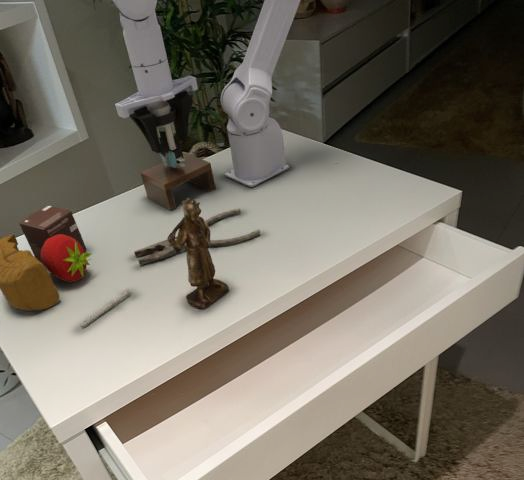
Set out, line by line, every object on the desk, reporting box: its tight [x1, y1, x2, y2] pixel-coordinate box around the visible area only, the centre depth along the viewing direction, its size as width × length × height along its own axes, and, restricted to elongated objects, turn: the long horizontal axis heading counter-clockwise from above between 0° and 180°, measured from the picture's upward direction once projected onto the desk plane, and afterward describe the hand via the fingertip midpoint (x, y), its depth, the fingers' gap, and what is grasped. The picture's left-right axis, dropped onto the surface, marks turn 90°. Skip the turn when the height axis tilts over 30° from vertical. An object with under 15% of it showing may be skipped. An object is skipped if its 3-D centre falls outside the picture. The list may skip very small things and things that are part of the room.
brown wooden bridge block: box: [140, 151, 216, 211], centre depth 102 cm, size 10×8×5 cm
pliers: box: [133, 208, 261, 266], centre depth 89 cm, size 10×1×20 cm
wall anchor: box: [79, 289, 132, 329], centre depth 79 cm, size 1×9×1 cm
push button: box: [147, 101, 185, 168], centre depth 96 cm, size 7×5×10 cm
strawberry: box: [41, 234, 93, 283], centre depth 84 cm, size 6×8×10 cm
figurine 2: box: [0, 233, 60, 312], centre depth 84 cm, size 7×7×15 cm
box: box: [18, 205, 87, 264], centre depth 90 cm, size 6×6×7 cm
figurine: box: [166, 197, 230, 310], centre depth 73 cm, size 7×4×15 cm, turn 137°
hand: (169, 145), depth 97 cm, fingers closed on push button, 5 cm apart
